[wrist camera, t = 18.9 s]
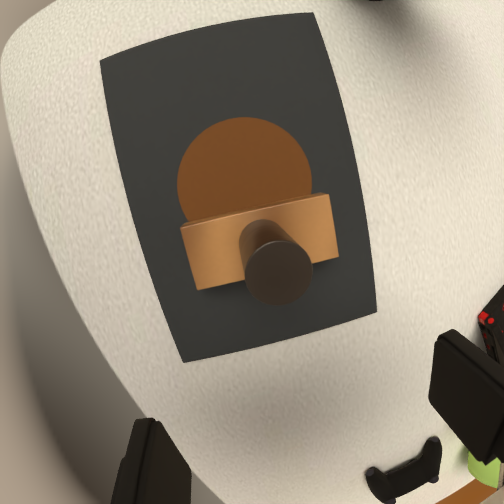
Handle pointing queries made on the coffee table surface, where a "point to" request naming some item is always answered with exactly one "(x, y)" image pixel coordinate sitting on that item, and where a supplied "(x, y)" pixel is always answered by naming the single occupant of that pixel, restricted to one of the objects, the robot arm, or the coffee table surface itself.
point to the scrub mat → (237, 169)
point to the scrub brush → (263, 247)
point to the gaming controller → (407, 474)
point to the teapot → (484, 471)
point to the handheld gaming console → (494, 327)
